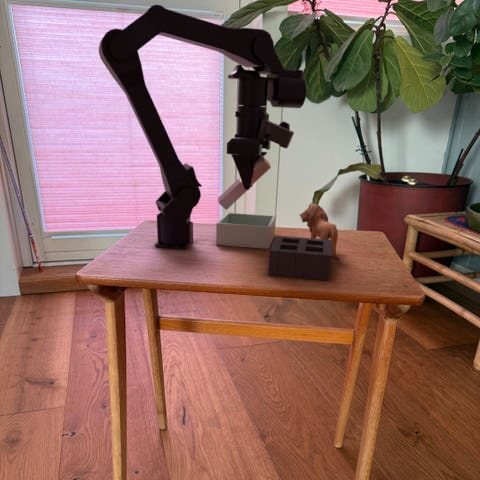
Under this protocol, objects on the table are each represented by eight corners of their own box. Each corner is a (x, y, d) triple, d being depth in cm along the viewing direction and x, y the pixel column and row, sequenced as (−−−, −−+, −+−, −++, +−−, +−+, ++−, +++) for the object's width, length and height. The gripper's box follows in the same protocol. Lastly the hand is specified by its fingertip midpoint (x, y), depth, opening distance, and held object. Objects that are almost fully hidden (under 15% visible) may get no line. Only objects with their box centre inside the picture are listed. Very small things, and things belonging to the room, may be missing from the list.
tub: (216, 244, 96) (216, 223, 94) (226, 232, 106) (227, 212, 104) (268, 249, 94) (270, 227, 92) (274, 235, 104) (275, 215, 102)
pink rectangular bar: (218, 203, 96) (263, 160, 91) (217, 197, 98) (262, 155, 93) (226, 210, 97) (271, 168, 92) (225, 205, 99) (270, 163, 94)
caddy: (268, 275, 79) (269, 250, 78) (274, 258, 89) (276, 235, 87) (328, 281, 78) (332, 255, 76) (328, 262, 87) (331, 239, 85)
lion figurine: (294, 244, 99) (298, 202, 95) (316, 242, 100) (320, 201, 96) (328, 264, 86) (333, 217, 82) (352, 262, 88) (359, 216, 84)
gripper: (289, 107, 79) (282, 198, 86) (296, 108, 96) (290, 184, 103) (227, 104, 81) (225, 194, 88) (244, 106, 98) (241, 181, 104)
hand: (248, 188), depth 95 cm, fingers closed on pink rectangular bar, 3 cm apart
